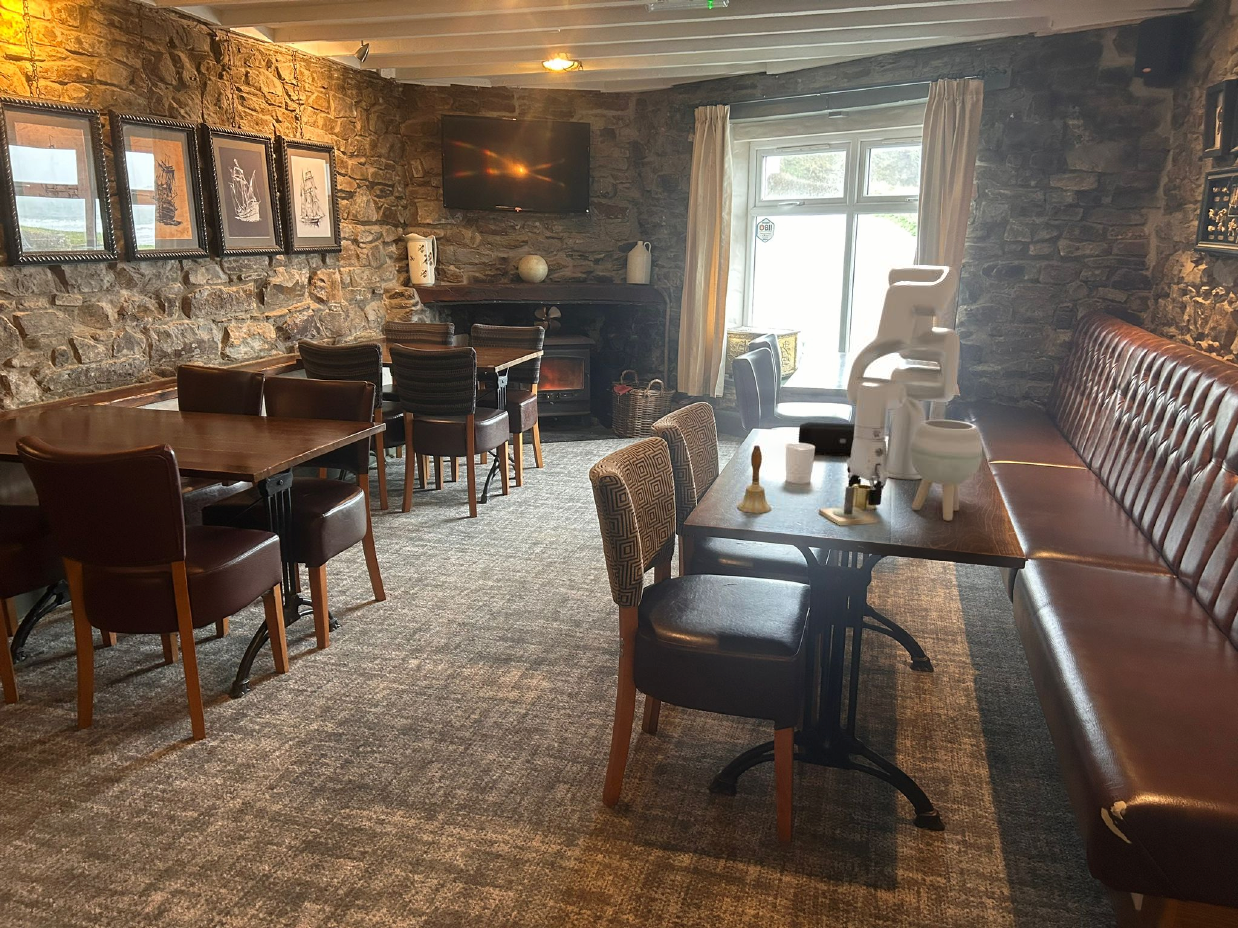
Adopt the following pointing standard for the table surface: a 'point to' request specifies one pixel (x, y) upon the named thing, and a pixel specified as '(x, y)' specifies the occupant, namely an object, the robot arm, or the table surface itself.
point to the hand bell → (755, 488)
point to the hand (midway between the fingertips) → (863, 499)
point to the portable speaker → (828, 437)
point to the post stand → (848, 512)
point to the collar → (862, 496)
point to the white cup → (799, 462)
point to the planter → (945, 459)
